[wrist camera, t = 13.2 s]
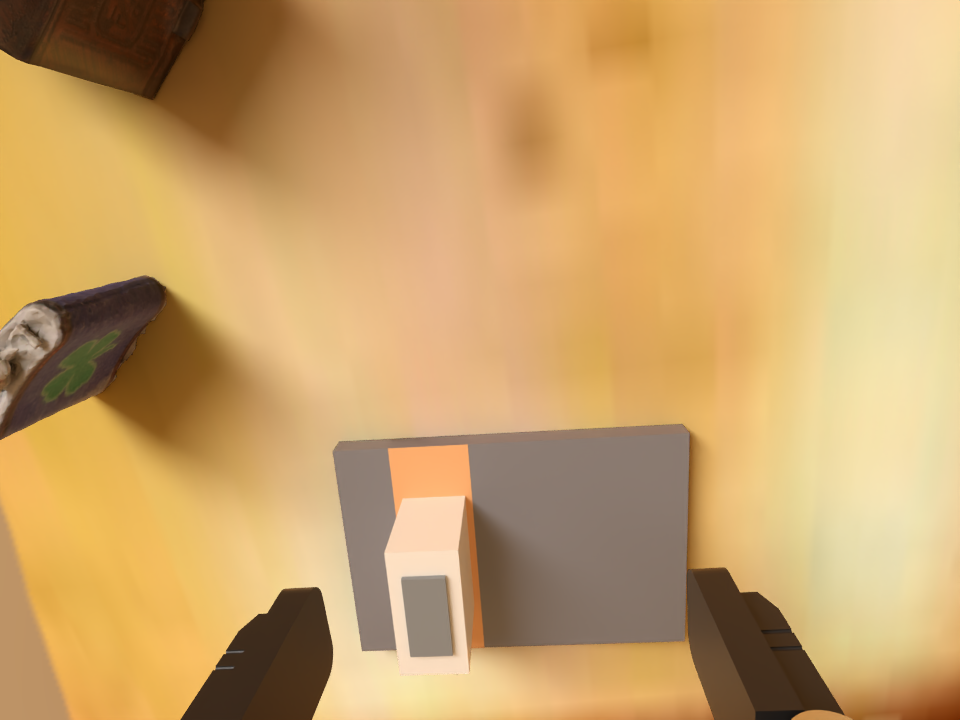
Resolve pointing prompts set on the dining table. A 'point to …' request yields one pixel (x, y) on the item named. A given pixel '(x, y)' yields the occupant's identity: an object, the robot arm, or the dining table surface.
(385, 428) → the dining table surface
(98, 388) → the flask
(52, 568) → the dining table surface
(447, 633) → the block
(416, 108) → the dining table surface
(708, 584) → the robot arm
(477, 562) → the board
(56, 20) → the black coffee grinder
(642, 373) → the dining table surface
